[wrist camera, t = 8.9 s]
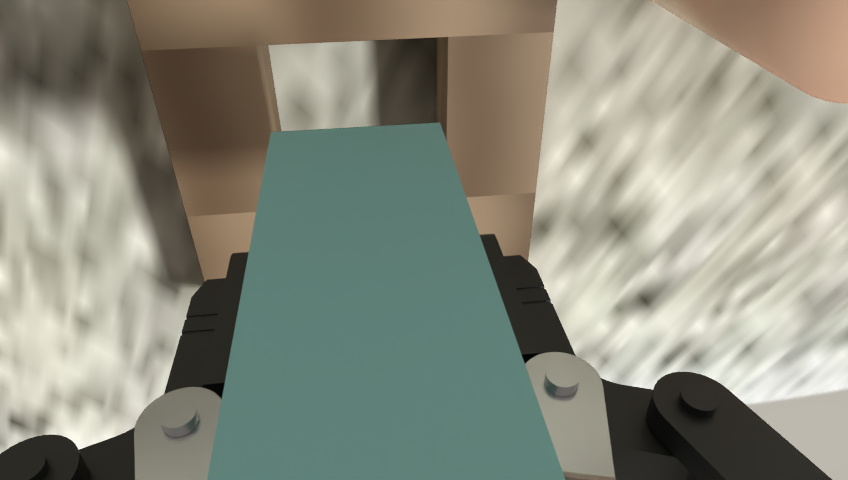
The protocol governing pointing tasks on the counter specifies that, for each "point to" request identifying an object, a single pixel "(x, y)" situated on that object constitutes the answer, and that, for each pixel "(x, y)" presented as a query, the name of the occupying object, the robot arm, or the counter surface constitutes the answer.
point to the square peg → (373, 324)
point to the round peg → (780, 38)
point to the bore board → (338, 22)
